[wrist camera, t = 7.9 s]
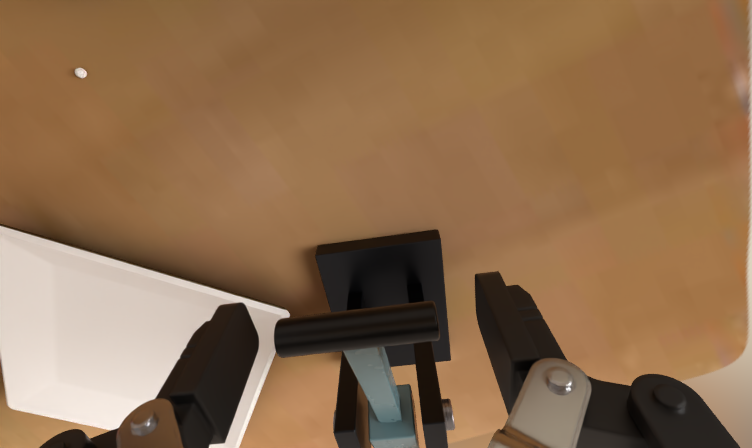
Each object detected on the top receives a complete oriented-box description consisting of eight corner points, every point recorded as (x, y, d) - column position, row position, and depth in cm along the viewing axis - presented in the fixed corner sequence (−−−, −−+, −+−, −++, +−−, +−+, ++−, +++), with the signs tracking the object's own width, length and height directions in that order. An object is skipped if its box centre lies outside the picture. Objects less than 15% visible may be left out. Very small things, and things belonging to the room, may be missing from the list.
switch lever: (278, 295, 12) (267, 368, 10) (430, 276, 12) (443, 349, 10) (350, 407, 21) (350, 456, 19) (439, 398, 20) (446, 448, 19)
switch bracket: (317, 245, 24) (279, 388, 15) (437, 229, 24) (478, 367, 14) (349, 359, 29) (335, 518, 20) (448, 348, 29) (482, 507, 19)
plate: (25, 387, 31) (4, 409, 29) (8, 206, 23) (-24, 222, 21) (242, 435, 35) (234, 459, 33) (296, 293, 26) (290, 314, 24)
